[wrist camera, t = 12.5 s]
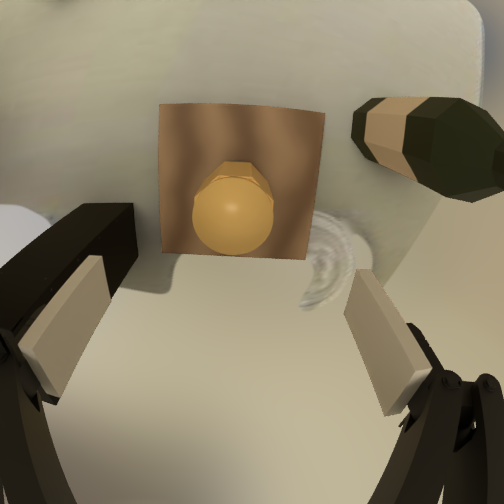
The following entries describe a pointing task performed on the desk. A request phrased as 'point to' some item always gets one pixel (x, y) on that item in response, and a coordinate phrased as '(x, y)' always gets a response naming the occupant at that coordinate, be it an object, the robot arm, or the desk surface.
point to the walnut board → (246, 149)
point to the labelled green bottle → (434, 143)
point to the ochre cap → (233, 209)
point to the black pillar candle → (66, 262)
